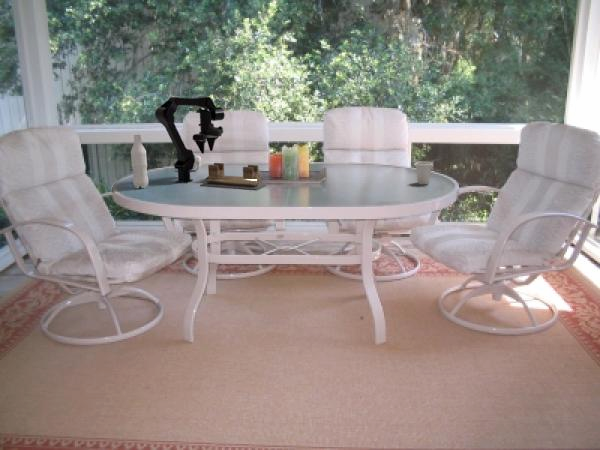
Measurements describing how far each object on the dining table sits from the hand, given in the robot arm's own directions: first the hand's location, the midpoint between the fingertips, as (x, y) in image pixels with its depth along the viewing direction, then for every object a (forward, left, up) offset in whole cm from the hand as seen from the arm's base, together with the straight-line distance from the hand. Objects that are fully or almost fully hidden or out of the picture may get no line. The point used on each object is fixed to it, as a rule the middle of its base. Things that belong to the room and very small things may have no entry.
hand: (207, 152), depth 308 cm
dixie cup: (+20, -108, -13) cm, 111 cm away
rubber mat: (-16, -22, -13) cm, 30 cm away
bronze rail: (-17, -22, -11) cm, 30 cm away
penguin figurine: (+14, +18, -13) cm, 26 cm away
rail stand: (-5, -17, -13) cm, 22 cm away
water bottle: (-34, +18, -13) cm, 41 cm away
